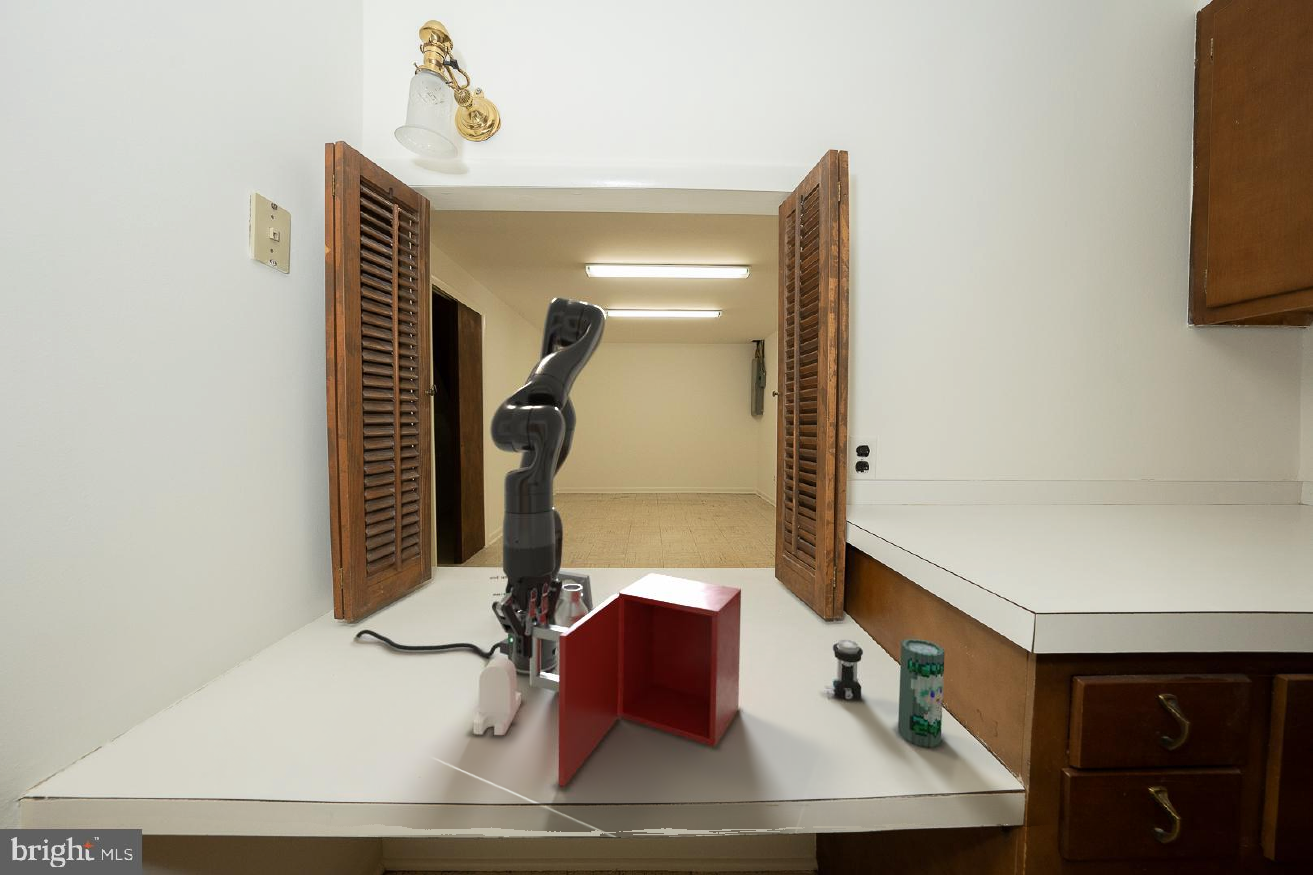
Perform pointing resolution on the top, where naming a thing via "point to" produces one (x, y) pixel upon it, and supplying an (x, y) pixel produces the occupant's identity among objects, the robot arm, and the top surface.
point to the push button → (846, 670)
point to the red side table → (581, 681)
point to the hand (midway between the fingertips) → (529, 654)
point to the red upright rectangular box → (679, 656)
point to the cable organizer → (497, 696)
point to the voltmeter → (573, 579)
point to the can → (921, 692)
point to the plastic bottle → (569, 611)
